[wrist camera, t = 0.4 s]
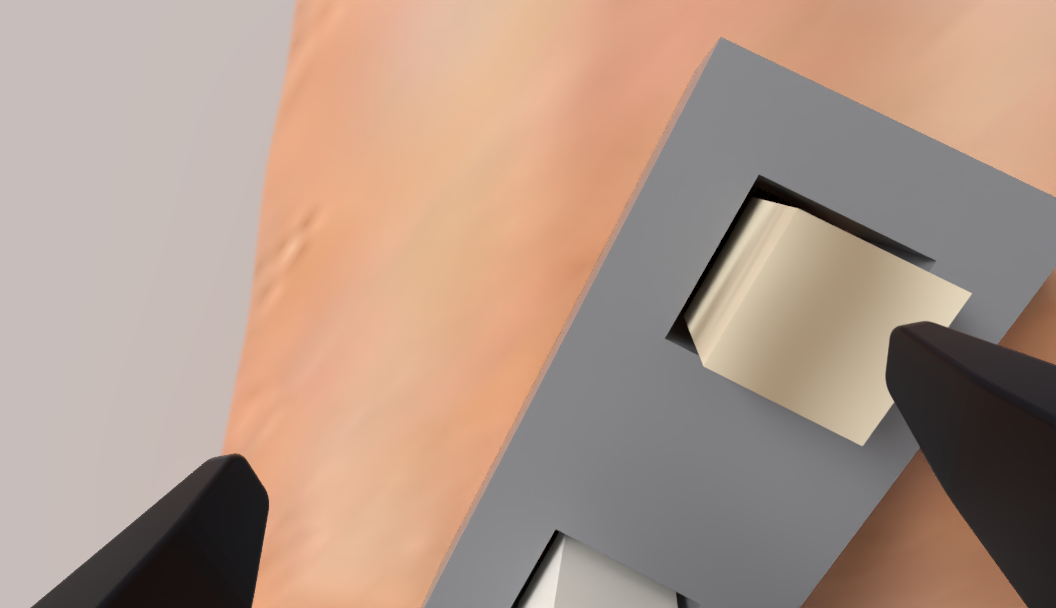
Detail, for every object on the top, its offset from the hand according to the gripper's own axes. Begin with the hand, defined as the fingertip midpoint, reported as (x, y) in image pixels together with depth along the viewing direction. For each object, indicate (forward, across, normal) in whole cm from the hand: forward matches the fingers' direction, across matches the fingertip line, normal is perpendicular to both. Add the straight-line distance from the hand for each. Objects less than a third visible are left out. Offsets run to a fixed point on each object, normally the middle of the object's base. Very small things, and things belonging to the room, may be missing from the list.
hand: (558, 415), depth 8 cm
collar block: (+11, -3, +10) cm, 15 cm away
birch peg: (+9, -6, +5) cm, 12 cm away
